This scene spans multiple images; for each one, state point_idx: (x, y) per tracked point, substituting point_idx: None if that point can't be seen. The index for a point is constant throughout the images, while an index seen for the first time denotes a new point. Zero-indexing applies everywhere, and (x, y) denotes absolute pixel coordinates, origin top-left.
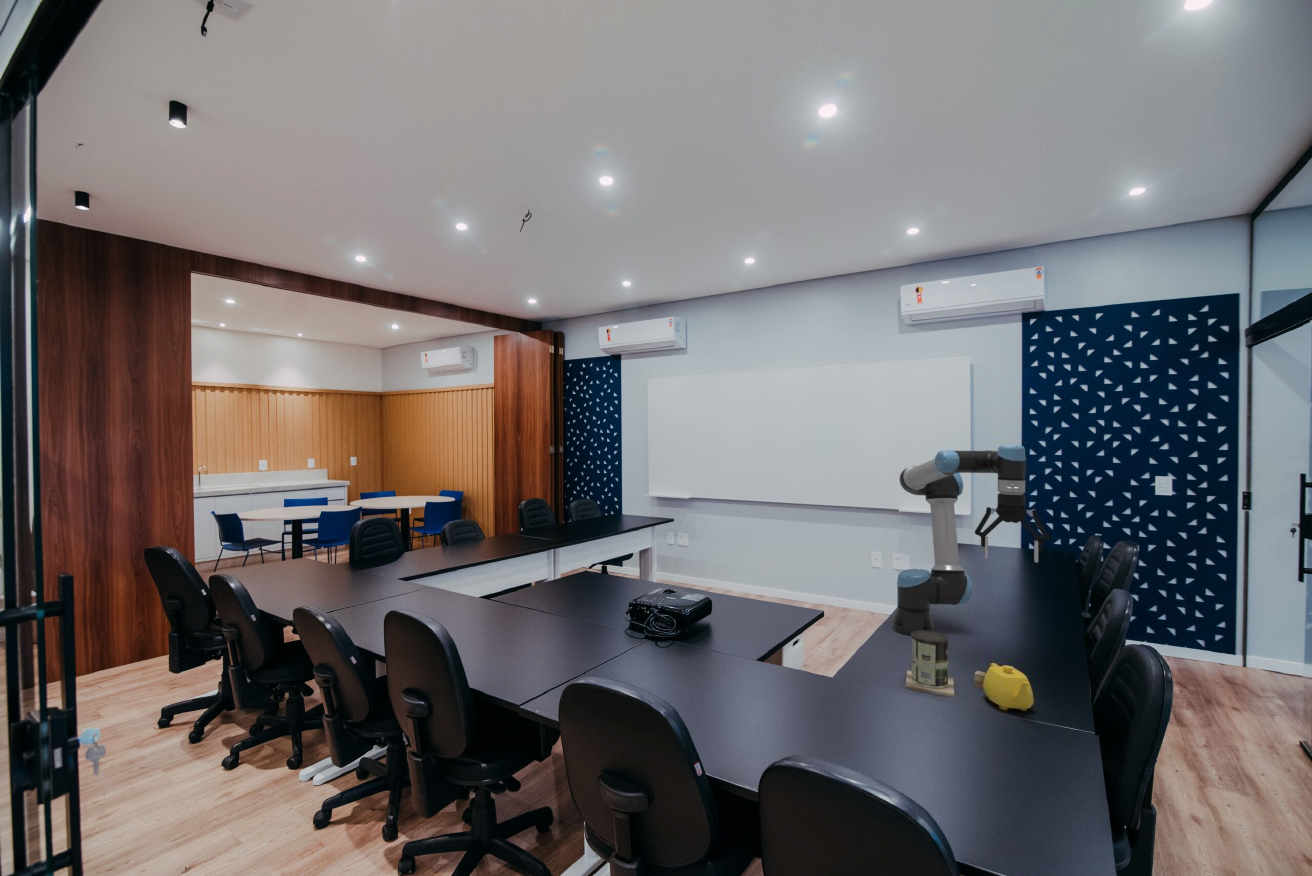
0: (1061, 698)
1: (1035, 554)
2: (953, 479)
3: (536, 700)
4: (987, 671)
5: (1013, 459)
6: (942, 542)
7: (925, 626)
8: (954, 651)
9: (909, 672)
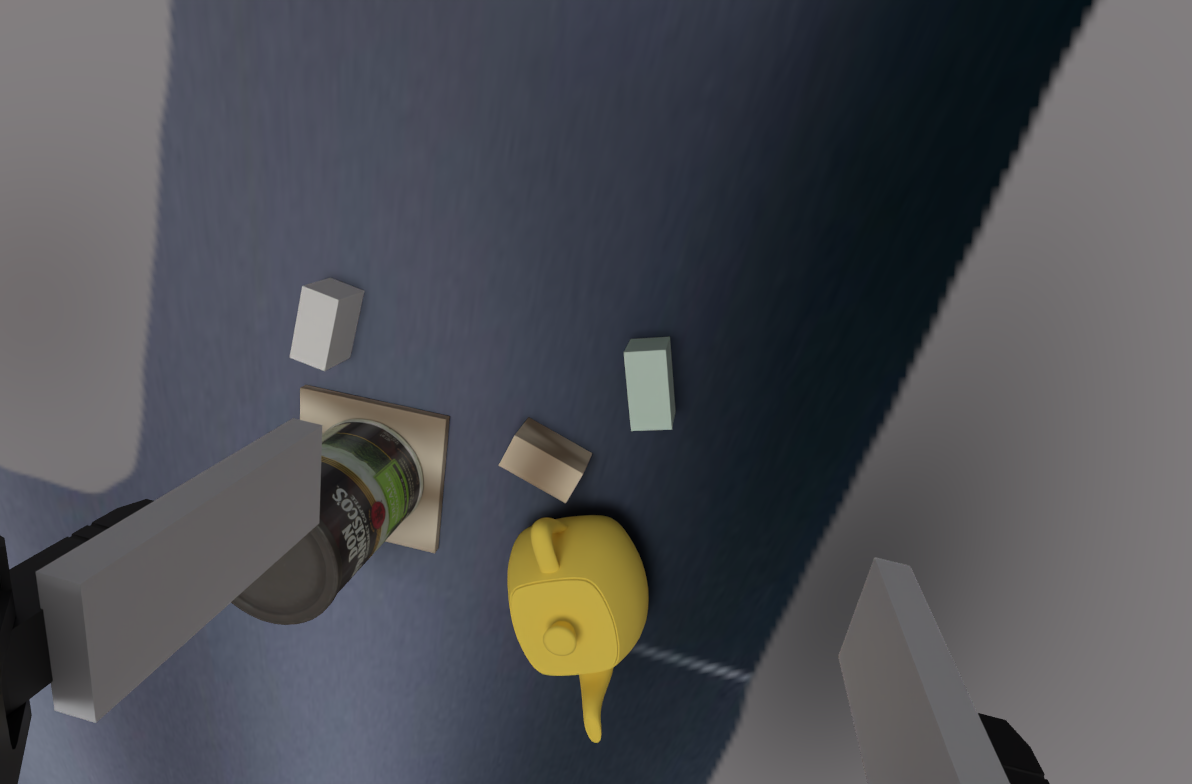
0: (788, 478)
1: (861, 740)
2: None
3: None
4: (508, 584)
5: None
6: None
7: None
8: (494, 52)
9: (307, 410)
